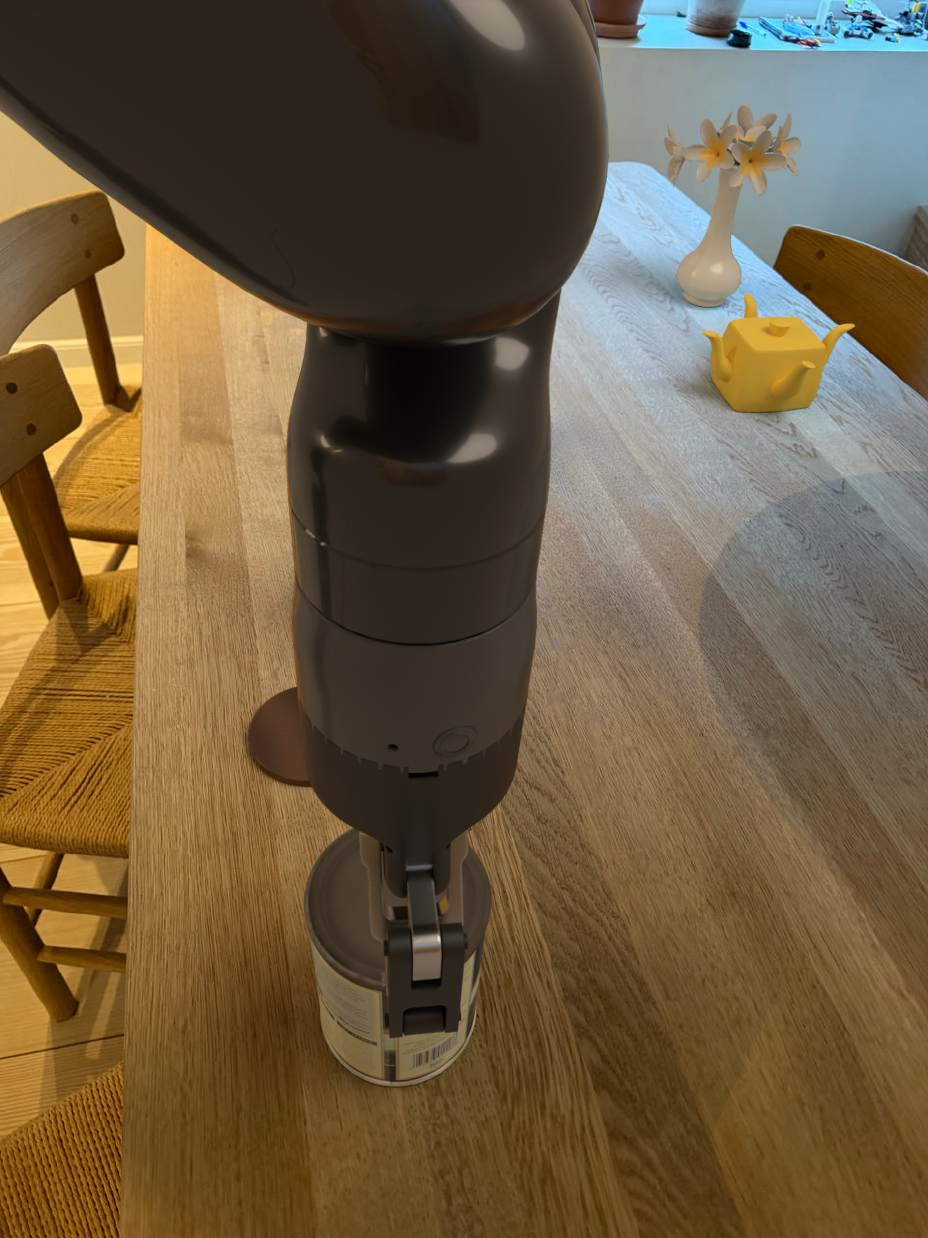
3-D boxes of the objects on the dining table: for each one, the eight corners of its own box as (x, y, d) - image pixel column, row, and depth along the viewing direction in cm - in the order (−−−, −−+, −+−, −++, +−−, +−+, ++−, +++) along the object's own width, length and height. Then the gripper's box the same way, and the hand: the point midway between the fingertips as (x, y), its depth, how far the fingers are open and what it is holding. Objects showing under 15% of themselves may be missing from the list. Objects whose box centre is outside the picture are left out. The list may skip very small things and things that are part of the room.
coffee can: (383, 905, 67) (381, 786, 58) (506, 988, 63) (526, 875, 54) (284, 1024, 61) (263, 913, 51) (414, 1124, 57) (418, 1025, 47)
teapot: (684, 396, 119) (701, 324, 112) (726, 352, 128) (744, 283, 121) (797, 436, 114) (822, 363, 107) (832, 387, 123) (858, 317, 116)
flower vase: (625, 282, 142) (657, 97, 125) (740, 276, 145) (787, 96, 128) (656, 323, 133) (694, 131, 115) (777, 317, 136) (833, 128, 119)
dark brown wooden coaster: (281, 806, 73) (280, 800, 72) (229, 718, 79) (228, 712, 78) (395, 754, 77) (395, 747, 76) (338, 674, 83) (338, 668, 82)
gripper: (297, 532, 35) (319, 791, 47) (293, 871, 25) (322, 1098, 36) (497, 525, 36) (471, 782, 48) (571, 851, 26) (516, 1078, 37)
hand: (406, 919), depth 42 cm, fingers open, 8 cm apart
